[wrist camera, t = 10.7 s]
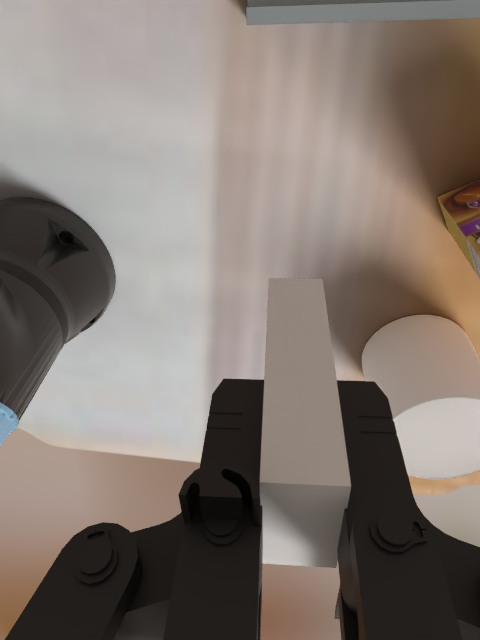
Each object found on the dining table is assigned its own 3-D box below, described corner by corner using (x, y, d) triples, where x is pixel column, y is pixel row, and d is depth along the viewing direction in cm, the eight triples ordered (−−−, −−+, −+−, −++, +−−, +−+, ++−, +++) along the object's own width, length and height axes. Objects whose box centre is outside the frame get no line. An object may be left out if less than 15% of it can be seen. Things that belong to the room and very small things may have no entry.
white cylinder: (438, 401, 55) (471, 489, 45) (346, 381, 54) (359, 466, 45) (490, 326, 48) (542, 412, 38) (385, 302, 47) (411, 383, 38)
